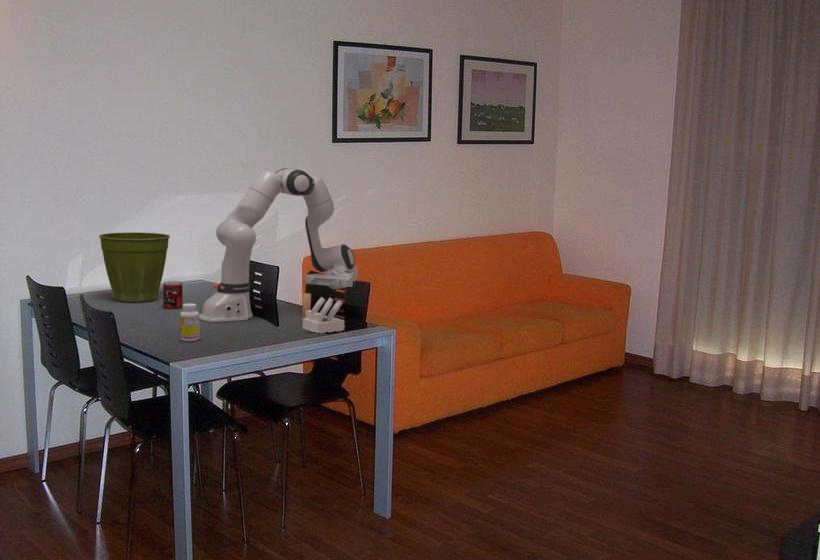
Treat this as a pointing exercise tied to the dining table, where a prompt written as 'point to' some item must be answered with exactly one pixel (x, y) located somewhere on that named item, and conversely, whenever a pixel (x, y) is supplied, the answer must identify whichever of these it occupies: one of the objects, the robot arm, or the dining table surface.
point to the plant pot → (134, 264)
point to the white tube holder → (323, 318)
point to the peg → (306, 304)
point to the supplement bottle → (189, 323)
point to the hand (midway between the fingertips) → (321, 283)
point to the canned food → (172, 295)
